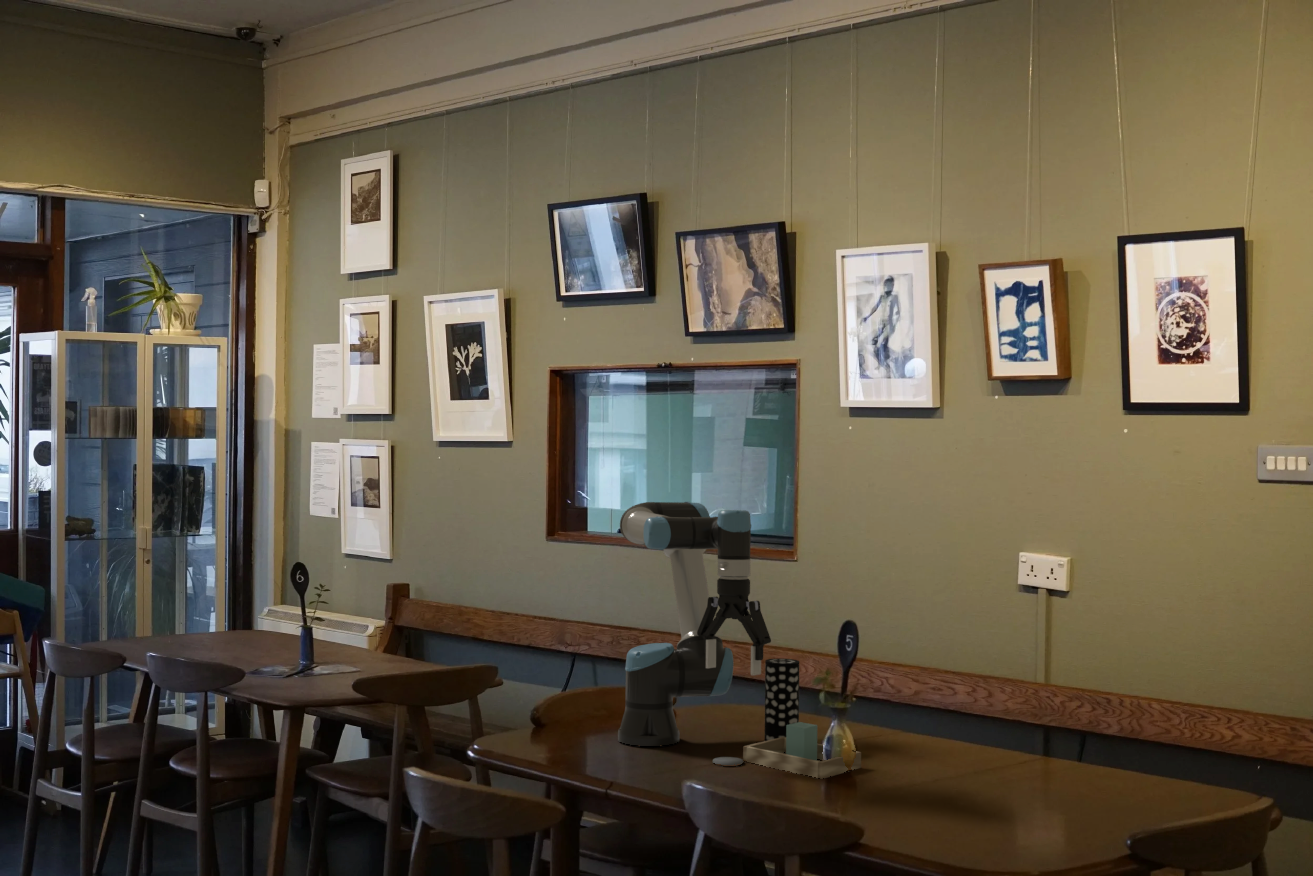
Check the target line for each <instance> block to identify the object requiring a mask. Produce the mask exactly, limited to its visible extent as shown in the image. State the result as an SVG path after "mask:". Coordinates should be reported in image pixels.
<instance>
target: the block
mask: <svg viewBox="0 0 1313 876" xmlns="http://www.w3.org/2000/svg"><path fill="white" fill-rule="evenodd" d="M817 743H818V724H812V723H808V722H802V721H799V722H797V723H793V724H789V725H786V753H785V754H788V755H792V756H797V757H802V758H807V759H811V760H816V761H818V760H817Z"/></svg>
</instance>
